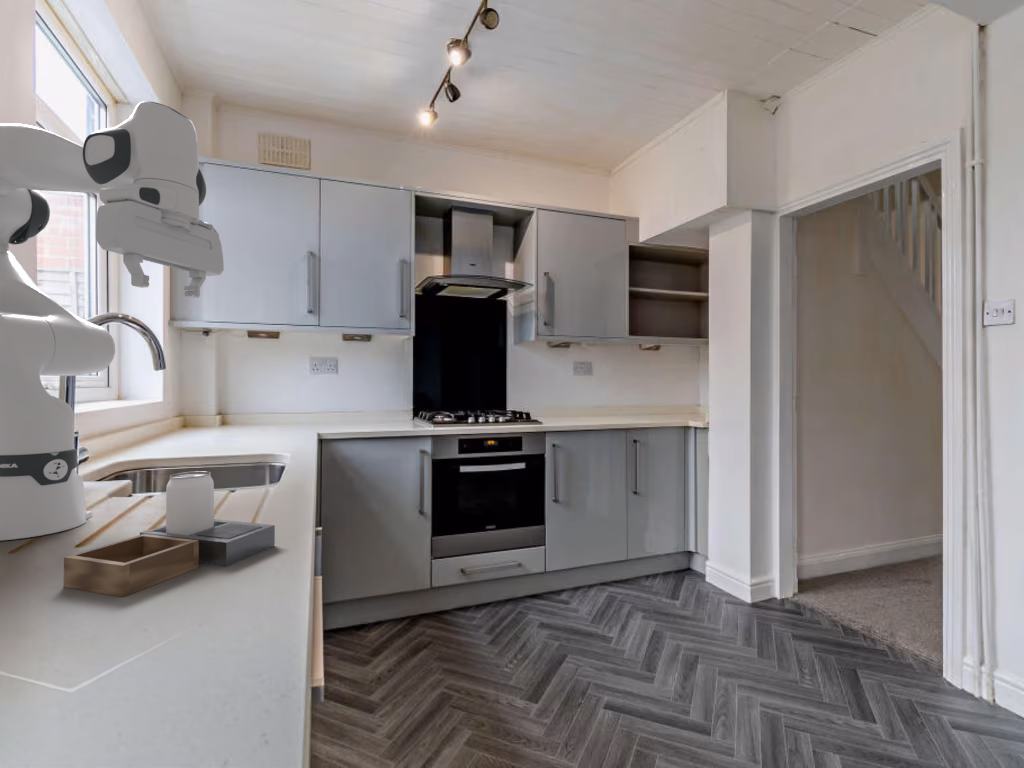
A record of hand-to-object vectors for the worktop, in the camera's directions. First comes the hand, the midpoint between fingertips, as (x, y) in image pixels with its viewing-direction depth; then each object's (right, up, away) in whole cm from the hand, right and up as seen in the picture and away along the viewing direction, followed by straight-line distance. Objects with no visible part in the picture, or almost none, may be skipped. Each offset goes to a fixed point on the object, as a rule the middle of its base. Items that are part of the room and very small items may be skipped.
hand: (167, 292), depth 82 cm
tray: (+8, -42, -2) cm, 42 cm away
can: (+4, -42, -1) cm, 42 cm away
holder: (+4, -42, -13) cm, 44 cm away
